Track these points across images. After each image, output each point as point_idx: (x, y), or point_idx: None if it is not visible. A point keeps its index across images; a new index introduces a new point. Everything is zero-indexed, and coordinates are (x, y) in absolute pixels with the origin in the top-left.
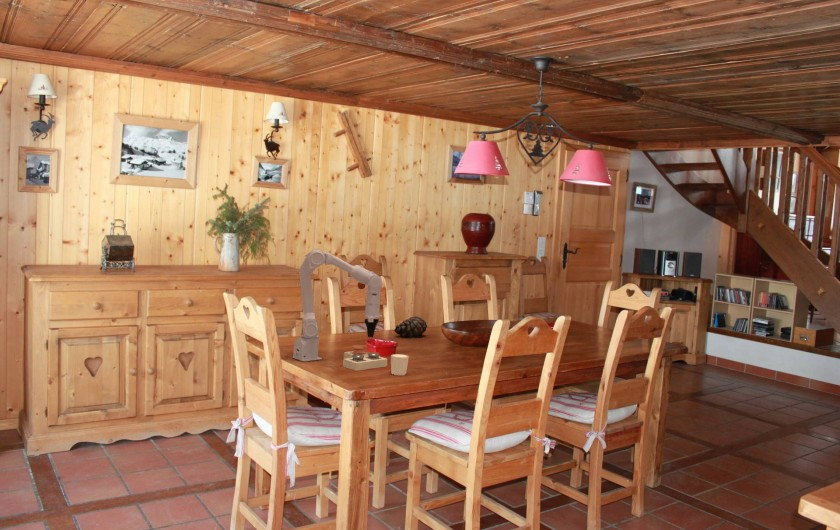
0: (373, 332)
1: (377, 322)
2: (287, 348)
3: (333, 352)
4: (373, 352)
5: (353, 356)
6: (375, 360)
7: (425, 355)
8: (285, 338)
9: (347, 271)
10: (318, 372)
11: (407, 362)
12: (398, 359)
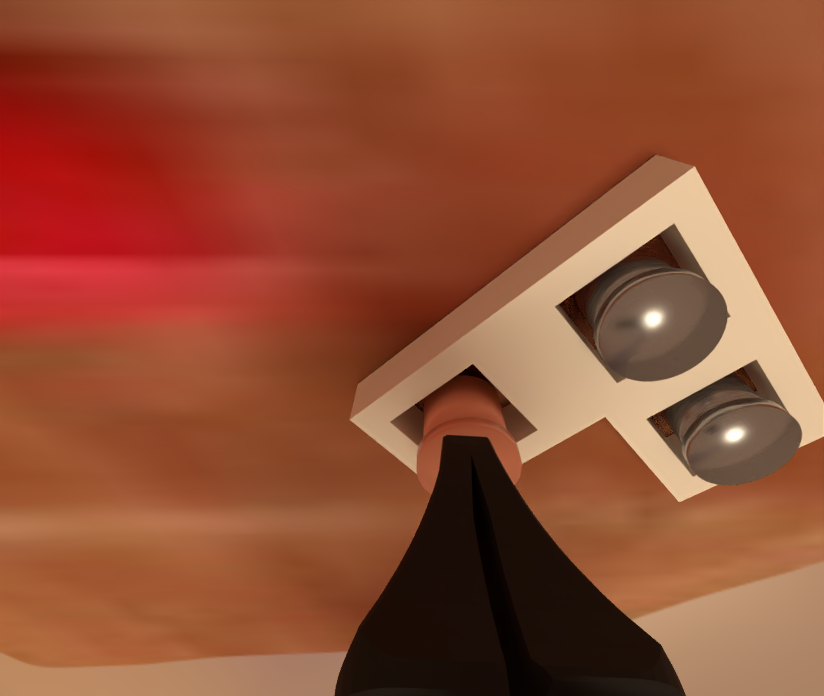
0: (512, 491)
1: (670, 668)
2: (278, 653)
3: (264, 511)
4: (606, 333)
5: (759, 474)
6: (757, 292)
7: None
8: (65, 666)
9: None
10: (794, 551)
11: None
12: None
